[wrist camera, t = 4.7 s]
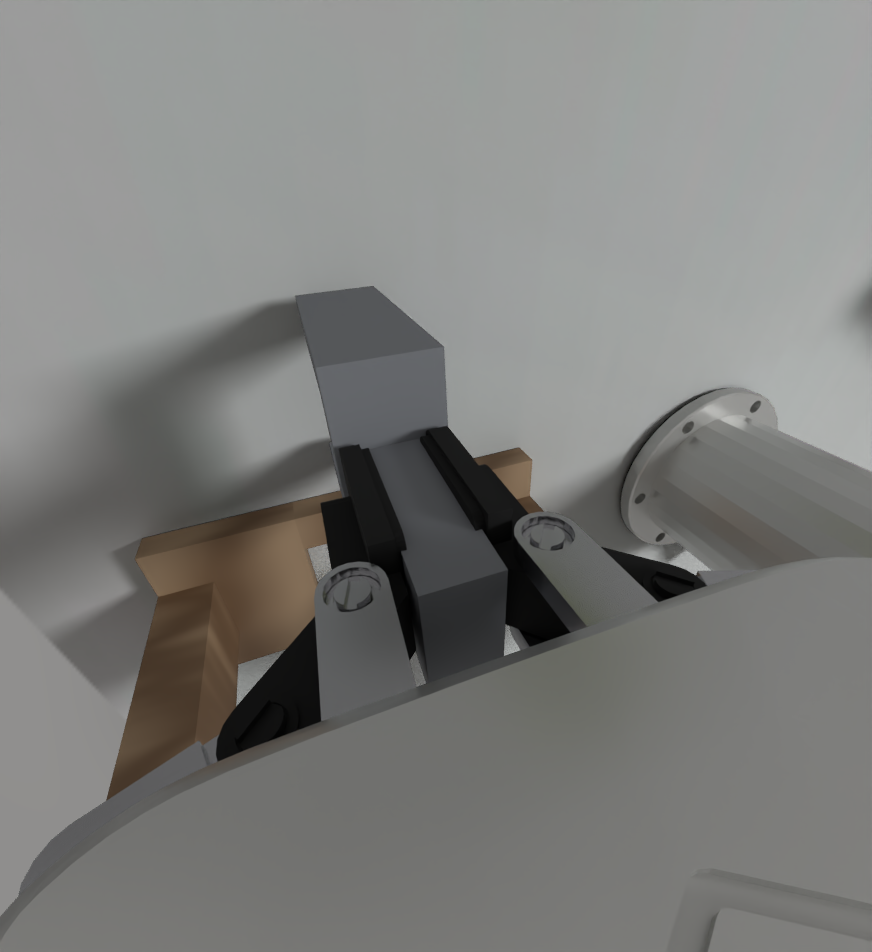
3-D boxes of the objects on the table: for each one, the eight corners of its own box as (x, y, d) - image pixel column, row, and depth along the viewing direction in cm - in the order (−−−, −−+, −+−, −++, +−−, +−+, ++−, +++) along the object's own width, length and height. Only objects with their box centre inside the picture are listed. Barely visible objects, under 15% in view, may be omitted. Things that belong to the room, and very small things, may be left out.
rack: (519, 447, 25) (802, 715, 12) (513, 558, 30) (708, 833, 17) (141, 538, 20) (-71, 1148, 7) (209, 652, 25) (156, 1135, 12)
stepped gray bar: (394, 451, 21) (526, 714, 10) (334, 464, 20) (407, 760, 10) (373, 286, 17) (558, 444, 6) (295, 295, 16) (350, 492, 5)
